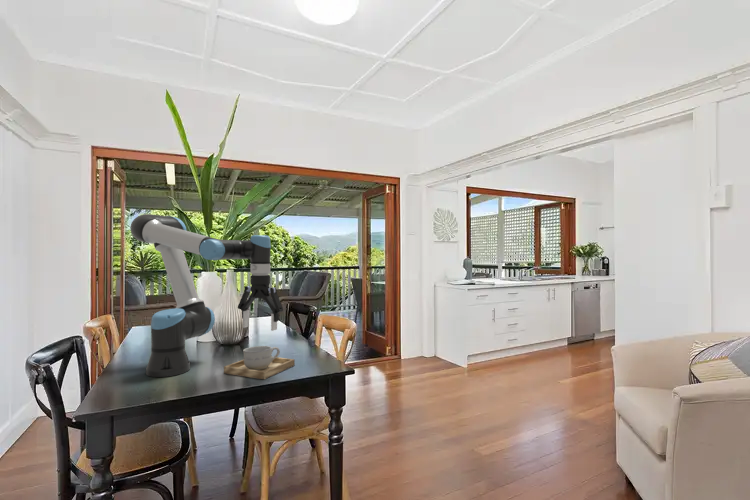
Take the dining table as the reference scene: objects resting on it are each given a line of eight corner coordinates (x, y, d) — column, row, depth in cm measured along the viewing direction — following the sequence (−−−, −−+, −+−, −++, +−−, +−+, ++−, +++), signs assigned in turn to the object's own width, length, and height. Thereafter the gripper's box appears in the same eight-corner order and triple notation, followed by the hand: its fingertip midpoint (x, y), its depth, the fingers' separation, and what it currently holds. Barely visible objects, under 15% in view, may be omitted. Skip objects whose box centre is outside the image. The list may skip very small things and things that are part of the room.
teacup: (242, 373, 151) (242, 352, 151) (243, 365, 161) (243, 345, 161) (281, 370, 155) (281, 349, 155) (279, 362, 165) (279, 343, 165)
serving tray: (223, 373, 153) (223, 366, 153) (256, 360, 171) (256, 354, 171) (264, 379, 146) (264, 372, 146) (294, 365, 163) (294, 359, 163)
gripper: (228, 273, 160) (228, 327, 160) (280, 276, 150) (280, 333, 150) (241, 273, 167) (241, 324, 167) (292, 275, 157) (291, 329, 157)
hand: (259, 328), depth 158 cm, fingers open, 13 cm apart
